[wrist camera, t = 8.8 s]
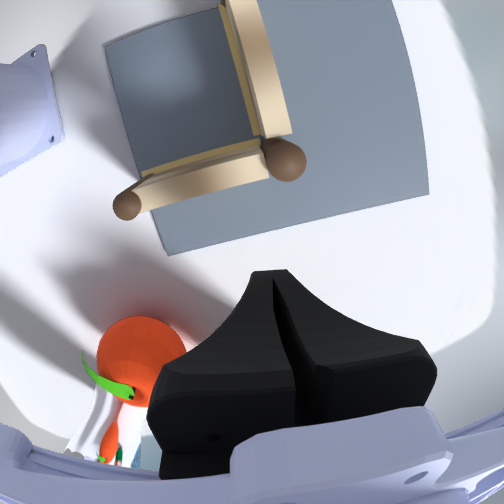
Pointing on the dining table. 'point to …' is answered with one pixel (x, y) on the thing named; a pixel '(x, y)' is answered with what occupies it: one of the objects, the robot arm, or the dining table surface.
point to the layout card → (298, 107)
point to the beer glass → (109, 432)
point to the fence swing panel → (259, 67)
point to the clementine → (134, 357)
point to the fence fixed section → (212, 176)
